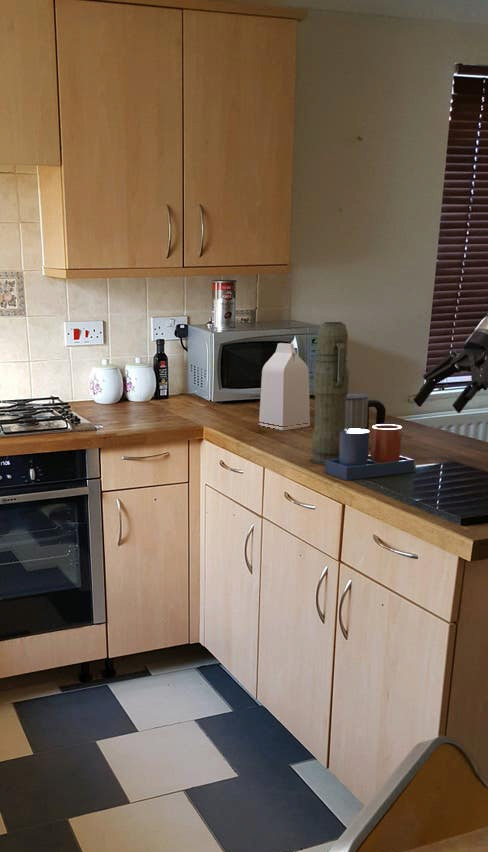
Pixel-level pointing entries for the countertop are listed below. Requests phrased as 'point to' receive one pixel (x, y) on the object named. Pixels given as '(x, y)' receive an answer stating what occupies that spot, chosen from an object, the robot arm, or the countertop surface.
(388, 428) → the terracotta cup
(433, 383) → the robot arm
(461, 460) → the countertop surface
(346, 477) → the sorter
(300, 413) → the milk
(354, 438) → the slate blue mug
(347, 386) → the thermos
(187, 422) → the countertop surface
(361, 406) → the milk frother
